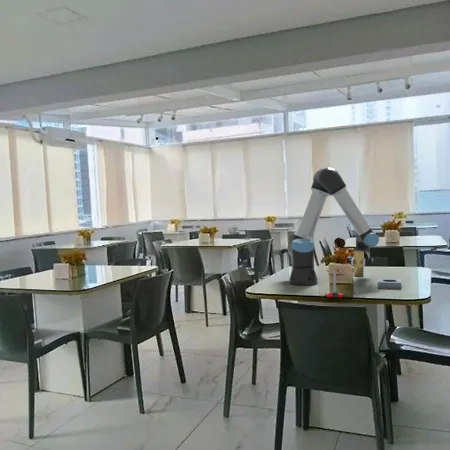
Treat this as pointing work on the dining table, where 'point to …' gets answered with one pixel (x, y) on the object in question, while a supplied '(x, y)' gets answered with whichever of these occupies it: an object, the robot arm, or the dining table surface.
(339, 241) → the dark brown rounded piece
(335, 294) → the grey spike red base
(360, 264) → the golden tall block
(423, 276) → the dining table surface
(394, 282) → the jig
